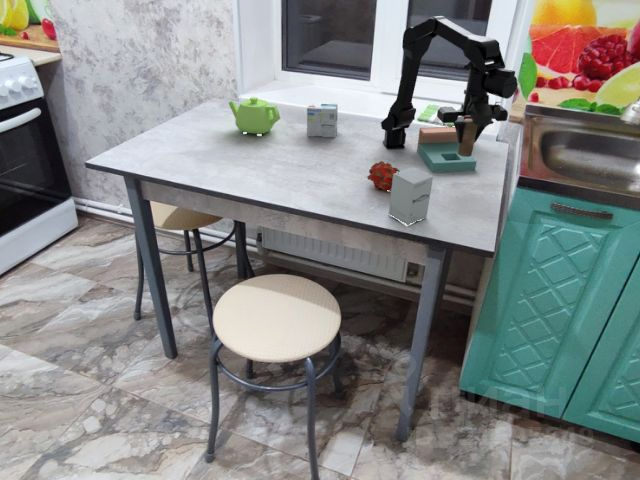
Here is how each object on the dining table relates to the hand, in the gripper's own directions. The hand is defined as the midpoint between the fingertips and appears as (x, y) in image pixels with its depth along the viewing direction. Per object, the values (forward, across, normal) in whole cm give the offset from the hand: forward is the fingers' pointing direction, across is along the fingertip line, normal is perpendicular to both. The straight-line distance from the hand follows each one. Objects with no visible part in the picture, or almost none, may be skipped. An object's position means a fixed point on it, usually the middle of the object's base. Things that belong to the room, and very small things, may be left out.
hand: (466, 142), depth 139 cm
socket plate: (+12, 0, +14) cm, 18 cm away
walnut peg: (+4, 0, 0) cm, 4 cm away
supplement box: (+12, -22, -20) cm, 32 cm away
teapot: (+12, -62, +46) cm, 78 cm away
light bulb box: (+12, -38, +41) cm, 57 cm away
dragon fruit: (+12, -24, -3) cm, 27 cm away
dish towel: (+13, +15, +52) cm, 55 cm away
